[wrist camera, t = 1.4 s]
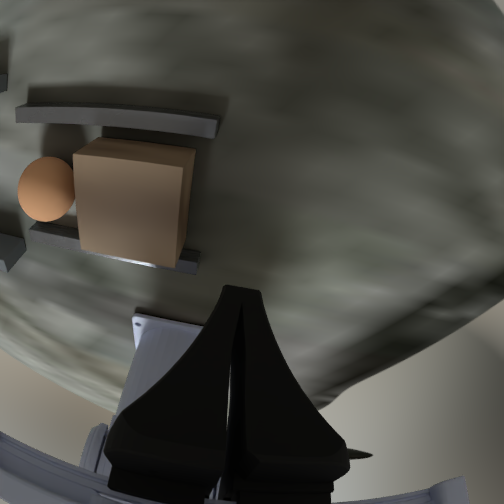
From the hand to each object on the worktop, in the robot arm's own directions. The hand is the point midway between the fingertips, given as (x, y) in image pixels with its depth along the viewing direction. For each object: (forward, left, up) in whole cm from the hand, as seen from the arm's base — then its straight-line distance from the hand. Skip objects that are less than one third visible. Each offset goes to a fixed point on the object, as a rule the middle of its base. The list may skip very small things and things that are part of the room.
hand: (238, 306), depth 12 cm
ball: (0, +13, -6) cm, 14 cm away
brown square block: (0, +7, -8) cm, 11 cm away
